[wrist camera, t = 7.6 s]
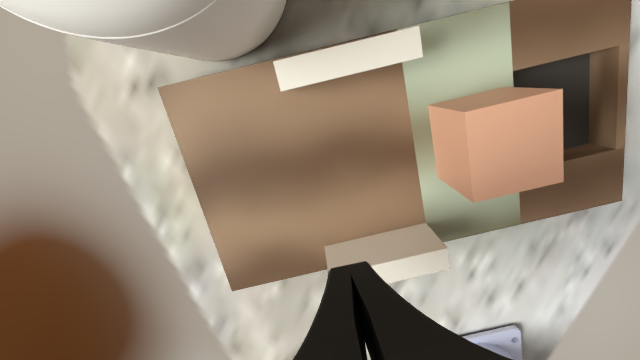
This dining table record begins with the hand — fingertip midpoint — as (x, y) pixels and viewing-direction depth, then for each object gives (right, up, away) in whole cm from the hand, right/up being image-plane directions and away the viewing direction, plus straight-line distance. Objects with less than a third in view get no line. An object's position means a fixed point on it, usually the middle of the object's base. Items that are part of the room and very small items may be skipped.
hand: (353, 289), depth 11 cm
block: (+7, +6, +6) cm, 11 cm away
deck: (+4, +6, +8) cm, 11 cm away
